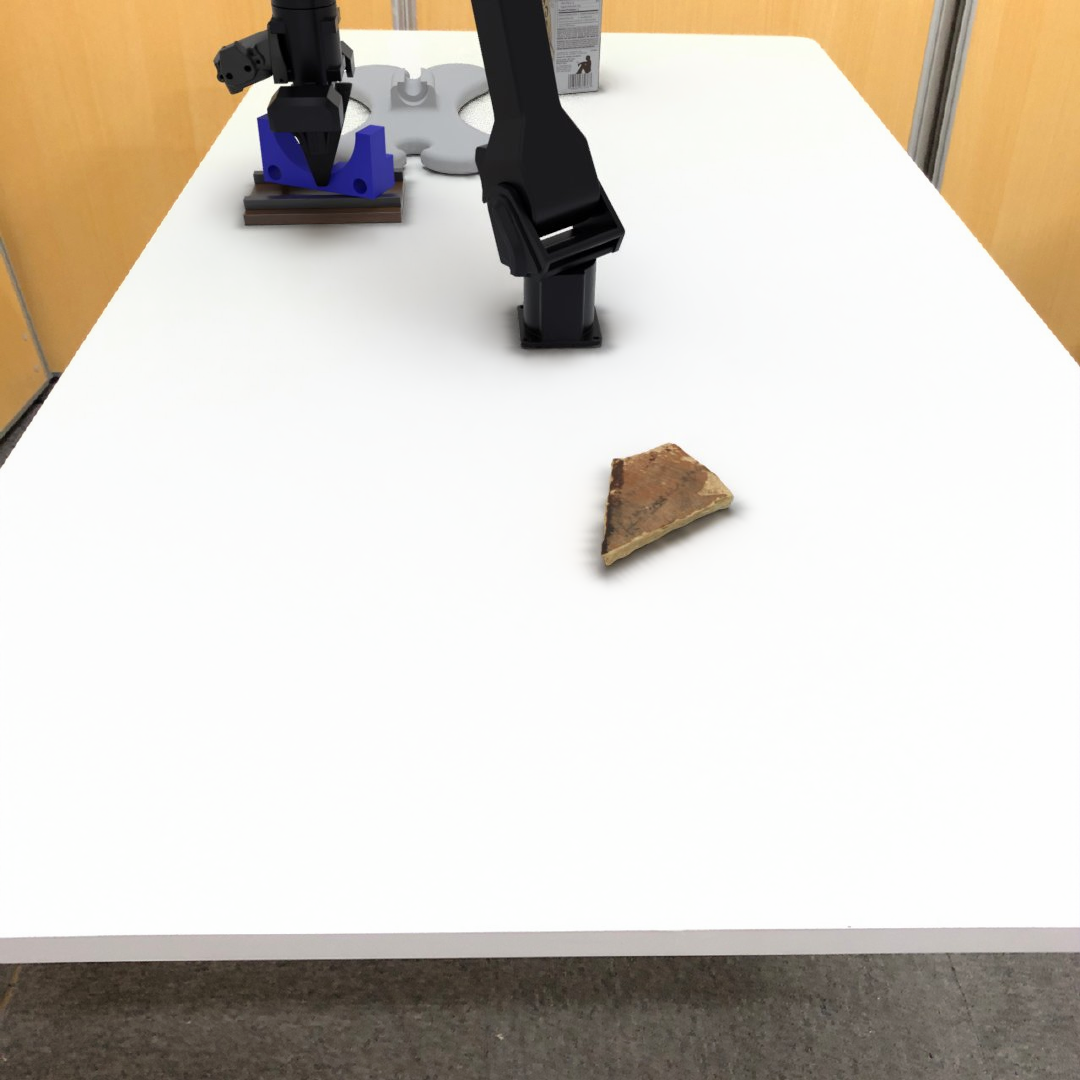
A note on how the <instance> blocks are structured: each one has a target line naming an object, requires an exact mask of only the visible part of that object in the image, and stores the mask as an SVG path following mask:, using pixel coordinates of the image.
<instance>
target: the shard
mask: <svg viewBox="0 0 1080 1080" xmlns="http://www.w3.org/2000/svg"><path fill="white" fill-rule="evenodd" d="M610 465H611V468H610V469H611V471H610V476H609V482H608V483H609V484H608V485H609V486H608V494H607V498H606V503H605V511H604V519H603V521H604V522H603V523H604V528H603V529H604V530H603V540H602V542H601V543H600V556H601V557H602V558H604V563H605V565H606V566H611V565H612V564H613V563H614V562H616V561H618V560H619V559H623V558H625V557H627V556H628V555H629V556H630V554H632V553H633V552H634V551H635V550H638V549H639V548H642V547H644V546H645V545H648V544H651V543H652V542H654V541H656V540H660V538H662V537H663V536H665V535H667V534H668V533H670V532H672V531H674V530H676V529H679V528H682V527H685V526H687V525H689V524H690V523H692V522H693V521H695V520H698V519H699V518H702V517H704V516H706V515H710V514H713V513H715V512H717V511H719V510H725V509H728V508H730V506H731V505H732V502H733V500H734V497H735V496H734V494H733V492H732V491H731V490H730V489H729V487H728V486H726V484H725V483H724V482H723V481H722V479H721V478H720V477H719V476H718V475H717V474H716V473H715V472H713V471H712V470H710V469H709V468H708V467H707V466H706V465H704V464H702V463H700V462H699V461H698V459H695V457H693V456H692V455H690V454H689V453H687V452H686V451H685V450H684V449H683V448H681V446H679V445H678V444H676V443H673V442H666V443H663V444H661V445H659V446H656V447H654V448H651V449H649V450H647V451H642V452H641V453H637V454H636V453H635V454H633V455H631V456H630V455H629V456H626V457H623V458H622V457H621V458H620V457H615V458H612V461H611V463H610Z"/></svg>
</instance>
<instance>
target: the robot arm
mask: <svg viewBox="0 0 1080 1080" xmlns="http://www.w3.org/2000/svg"><path fill="white" fill-rule="evenodd" d="M470 4H471V9H472V14H473V19H474V23H475V28H476V33H477V39H478V43H479V48H480V52H481V53H480V54H481V58H482V62H483V63H482V64H483V68H484V69H485V73H486V78H487V83H488V88H489V90H488V92H489V98H490V103H491V107H492V113H493V123H492V127H491V131H490V133H489V134H490V138H489V141H488V144H485V145H482V146H478V147H477V148H476V150H475V163H476V166H477V169H478V172H477V173H478V176H479V180H480V186H481V203H482V204H484V205H485V204H486V207H487V212H488V216H489V220H490V225H491V229H492V233H493V237H494V242H495V246H496V251H497V254H498V258H499V261H500V264H502V265H503V266H506V267H508V268H509V274H510V275H511V276H513V277H514V278H523V303H522V304H518V305H517V306H516V313H517V314H516V315H517V323H518V324H517V325H518V334H519V344H520V346H521V347H522V348H527V349H528V348H529V349H530V348H560V347H561V348H562V347H563V348H565V347H567V348H568V347H596V346H601V345H602V344H603V335H602V331H601V327H600V326H601V325H600V322H599V318H598V313H597V308H596V305H595V304H596V303H595V302H596V280H597V259H599V258H602V257H604V256H606V255H609V254H611V253H612V254H614V253H617V252H619V251H620V249H621V247H622V243H623V240H624V238H625V235H626V229H625V227H624V225H623V223H622V220H621V219H620V217H619V215H618V214H617V212H616V209H615V207H614V205H613V204H612V202H611V200H610V198H609V197H608V196H609V195H608V194H607V192H606V190H605V189H604V187H603V185H602V183H601V181H600V179H599V177H598V173H597V170H596V165H595V163H594V159H593V156H592V152H591V148H590V146H589V145H590V144H589V142H588V141H589V140H588V139H587V137H586V136H585V134H584V133H583V132H582V131H581V129H580V128H579V127H578V125H577V124H576V122H575V121H574V120H573V119H572V117H571V116H570V115H569V114H568V112H567V111H566V110H565V109H564V107H563V106H562V103H561V100H560V94H558V88H557V82H556V76H555V71H554V65H553V59H552V54H551V48H550V42H549V37H548V31H547V25H546V20H545V14H544V8H543V3H542V0H470ZM270 5H271V12H272V13H271V17H270V20H269V21H268V22H267V23H266V29H264V30H261V31H258V32H255V33H253V34H250V35H248V36H246V37H243V38H240V39H239V40H234V41H233V42H232V43H229V44H227V45H223V46H221V48H220V49H219V50H218V51H217V53H216V54H215V57H214V58H213V60H212V62H213V65H214V67H215V69H216V73H217V74H216V79H217V81H218V82H220V83H223V84H224V85H225V87H226V88H227V90H228V92H229V94H230V95H237V94H239V93H241V92H243V91H244V89H245V88H247V87H250V86H252V85H255V84H258V83H260V82H263V81H265V80H268V79H269V78H271V77H272V78H273V84H274V85H280V86H279V87H278V88H277V90H276V91H275V92H274V93H273V94H272V96H271V98H270V100H269V103H268V104H267V108H266V112H267V113H266V114H268V120H269V127H270V131H273V132H275V133H287V132H290V133H291V134H293V135H294V136H295V138H296V139H297V141H298V143H299V144H300V146H301V148H302V151H303V153H304V156H305V158H306V161H307V163H308V166H309V168H310V171H311V173H312V176H313V178H314V181H315V183H316V185H317V186H318V187H326V186H328V184H329V180H330V176H331V172H332V168H333V164H334V160H335V156H336V152H337V148H338V144H339V140H340V137H341V135H342V132H343V128H344V124H345V120H346V115H347V110H348V106H349V103H350V98H351V97H350V94H351V90H352V83H349V82H342V78H343V74H344V72H345V71H346V74H347V78H353V77H354V72H355V67H356V66H355V64H356V63H355V54H354V49H352V48H351V47H350V46H349V45H348V44H347V43H346V42H345V41H344V40H341V34H340V33H341V32H340V22H341V19H342V17H341V8H340V6H338V5H337V0H270ZM288 83H291V84H290V85H288ZM570 227H571V228H570ZM568 228H570V229H568ZM565 229H567V230H565ZM562 230H564V231H562ZM559 231H562V232H559ZM557 232H559V233H557ZM554 233H556V234H554ZM552 234H554V235H552ZM549 235H551V236H549ZM546 236H549V237H546ZM544 237H546V238H544ZM542 238H543V239H542Z"/></svg>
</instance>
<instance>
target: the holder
mask: <svg viewBox="0 0 1080 1080" xmlns="http://www.w3.org/2000/svg"><path fill="white" fill-rule="evenodd" d="M342 82H349V83H352V90H351V94H350V98H351V99H354V100H356V101H358V102H360V103H362V104H363V105H364V106H366V107H367V108H368V109H369V110H370V115H369V116H368V117H367V119H366V120H365V121H363V123H361V124H359V125H358V126H357V127H356V128H354V129H352V130H350V131H348V132H346V133H344V134H341V137H340V140H339V144H338V148H337V152H336V156H335V160H334V164H336V163H338V162H339V161H340V162H348V161H349V160H350V158H351V156H352V153H353V150H354V146H355V133H356V132H358V131H359V130H361V129H363V128H365V127H367V126H369V125H377V126H384V127H385V145H386V154H393V162H394V168H404V167H405V166H406V165H407V161H408V158H407V155H420V163H421V165H422V166H424V167H425V168H427V169H428V170H431V171H434V172H438V173H441V174H449V175H469V174H478V173H479V172H478V169H477V166H476V163H475V150H476V148H477V147H478V146H482V145H485V144H488V141H489V138H490V134H491V133H487V132H484V131H482V130H480V129H478V128H476V127H474V126H473V125H471V124H470V123H468V122H466V121H465V120H464V119H463V118H462V117H461V115H460V114H459V112H460V110H461V109H462V108H463V107H464V106H465V104H467V103H469V102H470V101H471V100H474V99H475V98H477V97H480V96H481V95H484V94H486V93H487V92H489V88H488V83H487V78H486V73H485V68H484V67H483V66H481V65H480V66H479V65H475V64H470V63H463V62H462V63H458V62H456V63H451V62H450V63H441V64H437V65H432V66H430V67H427V68H425V67H420V76H419V77H418V78H411V75H410V72H409V71H408V70H406V68H405V67H400V66H396V65H391V64H390V65H389V64H366V65H365V64H364V65H360V66H359V65H358V66H355V72H354V77H353V78H347V74H346V70H344V74H343V78H342ZM334 164H333V165H334Z"/></svg>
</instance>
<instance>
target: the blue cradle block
mask: <svg viewBox="0 0 1080 1080" xmlns="http://www.w3.org/2000/svg"><path fill="white" fill-rule="evenodd" d="M256 123H257V131H258V140H259V149H260V156H261V157H260V158H261V164H262V171H263V174H264V181H267V182H273V183H279V184H285V185H291V186H297V187H303V188H309V189H315V190H320V191H326V192H332V193H338V194H344V195H350V196H356V197H362V198H368V199H375V198H376V197H378V196H379V195H381V194H382V193H384V192H385V191H387V190H388V189H390V188H391V187H393V186H394V185H395V183H394V162H393V154H386V145H385V127H384V126H377V125H369V126H367V127H365V128H363V129H361V130H359V131H358V132H356V133H355V146H354V150H353V153H352V156H351V158H350V160H349V161H348V162H340V161H339V162H338V163H336V164H334V165H333V168H332V172H331V176H330V180H329V184H328V186H326V187H318V186H317V185H316V183H315V181H314V178H313V176H312V173H311V171H310V168H309V166H308V163H307V161H306V158H305V156H304V153H303V151H302V148H301V146H300V144H299V141H298V139H297V138H296V137H295V136H294V135H293V134H291V133H290V132H287V133H275V132H273V131H270V127H269V120H268V114H267V113H264V114H262V115H260V116H258V117H256Z"/></svg>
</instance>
